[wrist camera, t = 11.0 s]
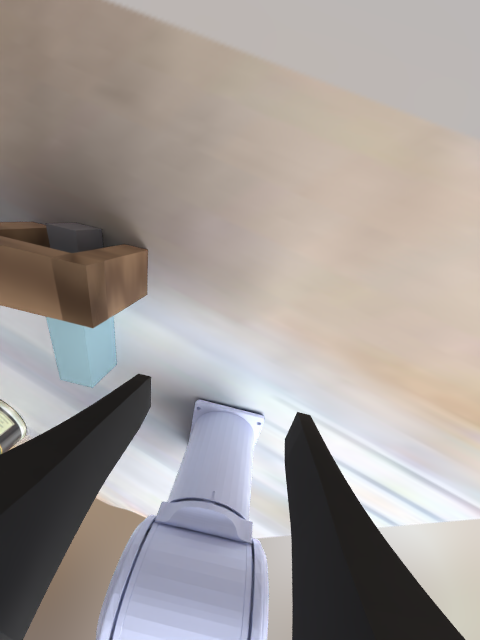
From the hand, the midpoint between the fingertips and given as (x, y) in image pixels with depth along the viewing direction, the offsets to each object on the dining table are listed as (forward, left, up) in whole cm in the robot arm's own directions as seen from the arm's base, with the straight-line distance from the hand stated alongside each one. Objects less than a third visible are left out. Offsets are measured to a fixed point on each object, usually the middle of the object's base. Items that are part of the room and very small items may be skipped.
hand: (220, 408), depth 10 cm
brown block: (+2, +14, -10) cm, 17 cm away
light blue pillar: (-3, +14, -10) cm, 17 cm away
